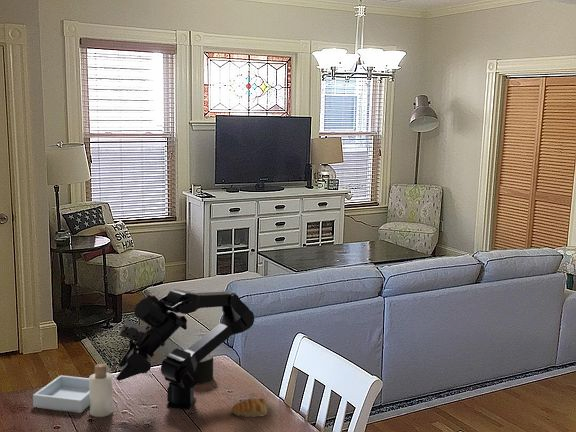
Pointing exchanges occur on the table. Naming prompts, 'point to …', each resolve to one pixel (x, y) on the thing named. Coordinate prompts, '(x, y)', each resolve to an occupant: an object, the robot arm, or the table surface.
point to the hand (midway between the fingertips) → (118, 372)
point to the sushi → (205, 369)
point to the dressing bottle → (101, 391)
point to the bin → (64, 394)
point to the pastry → (250, 408)
